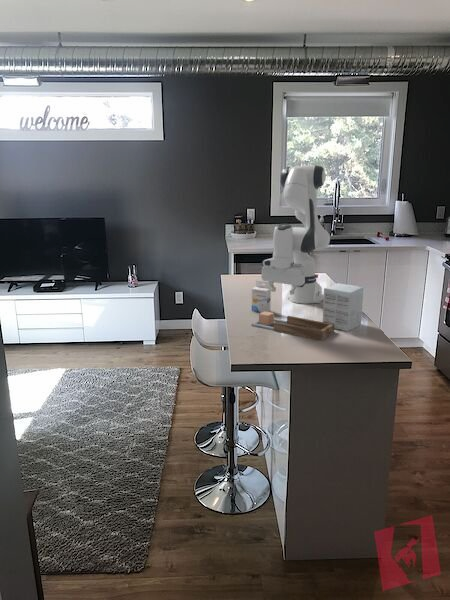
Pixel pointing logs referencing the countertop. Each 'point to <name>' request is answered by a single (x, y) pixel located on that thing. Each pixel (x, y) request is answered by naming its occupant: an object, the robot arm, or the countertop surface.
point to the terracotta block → (266, 318)
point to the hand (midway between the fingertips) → (282, 292)
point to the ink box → (261, 297)
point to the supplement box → (343, 306)
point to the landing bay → (268, 326)
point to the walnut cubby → (305, 332)
